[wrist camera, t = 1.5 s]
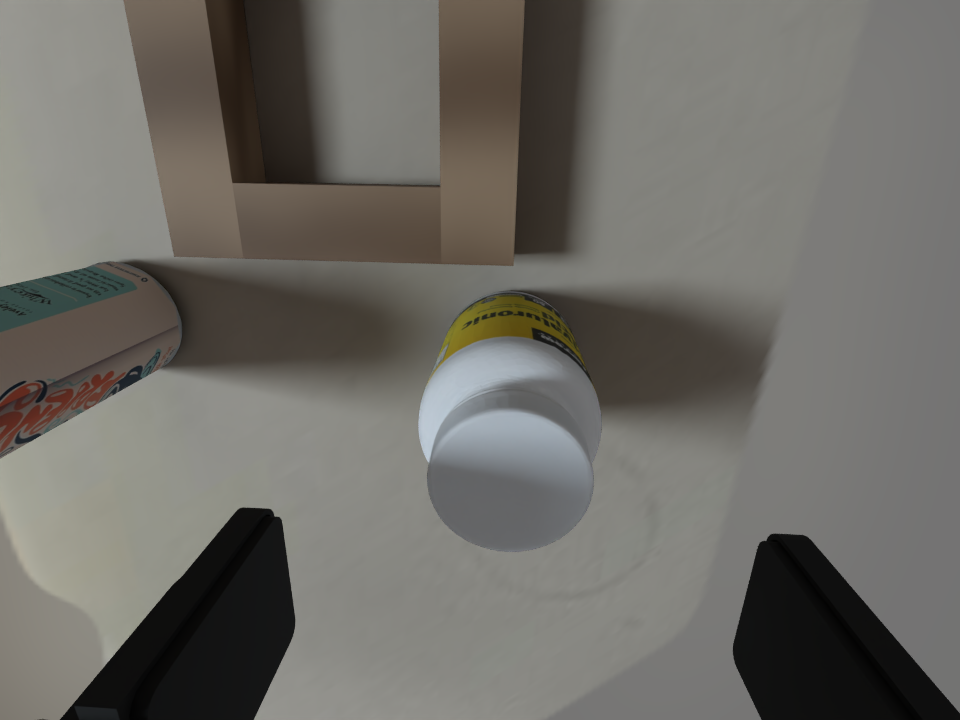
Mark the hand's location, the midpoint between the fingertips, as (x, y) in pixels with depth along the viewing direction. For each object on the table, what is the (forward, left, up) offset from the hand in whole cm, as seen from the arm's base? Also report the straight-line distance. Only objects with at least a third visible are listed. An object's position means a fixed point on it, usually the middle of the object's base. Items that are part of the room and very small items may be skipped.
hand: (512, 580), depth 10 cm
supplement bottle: (-1, 0, -12) cm, 12 cm away
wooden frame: (-11, -6, -12) cm, 17 cm away
